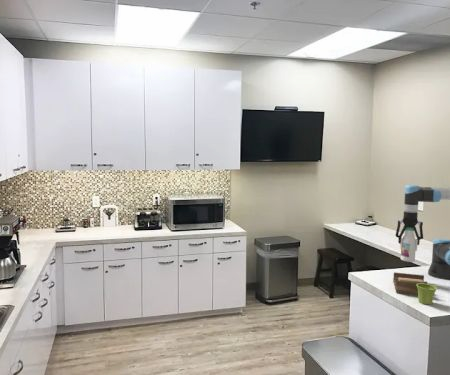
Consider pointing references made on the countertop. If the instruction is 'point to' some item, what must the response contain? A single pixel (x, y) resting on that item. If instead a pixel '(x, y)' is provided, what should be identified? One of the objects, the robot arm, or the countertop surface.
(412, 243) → the milk bottle
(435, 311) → the countertop surface
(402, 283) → the walnut rack
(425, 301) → the plant pot
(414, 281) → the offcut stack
